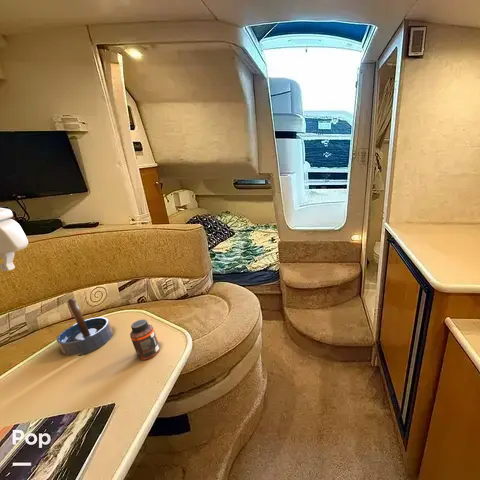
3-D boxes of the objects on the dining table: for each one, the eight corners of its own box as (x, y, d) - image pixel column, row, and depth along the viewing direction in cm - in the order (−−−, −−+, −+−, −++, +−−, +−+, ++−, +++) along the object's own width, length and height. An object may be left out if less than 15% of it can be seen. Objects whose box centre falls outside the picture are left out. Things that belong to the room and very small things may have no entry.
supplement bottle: (164, 349, 84) (154, 319, 80) (146, 363, 79) (135, 331, 75) (152, 344, 87) (142, 315, 83) (134, 357, 82) (122, 327, 78)
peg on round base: (74, 344, 88) (54, 302, 83) (93, 333, 93) (76, 293, 87) (84, 348, 86) (64, 305, 81) (103, 337, 91) (85, 295, 85)
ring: (54, 352, 86) (47, 338, 85) (99, 326, 98) (94, 314, 96) (77, 362, 81) (71, 347, 79) (122, 334, 93) (117, 321, 91)
